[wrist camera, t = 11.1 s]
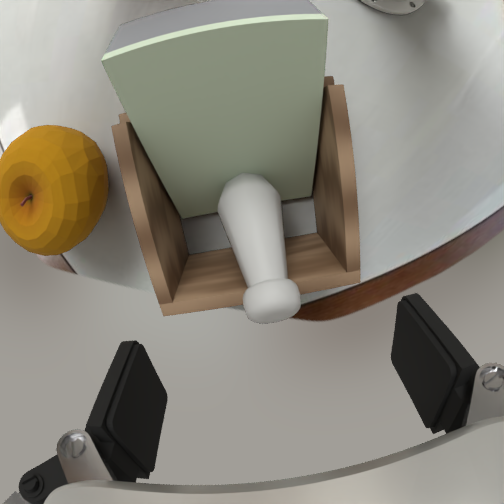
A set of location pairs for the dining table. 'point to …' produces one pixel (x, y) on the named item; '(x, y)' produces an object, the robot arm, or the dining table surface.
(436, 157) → the dining table surface
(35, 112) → the dining table surface
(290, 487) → the robot arm
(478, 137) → the dining table surface
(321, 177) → the box
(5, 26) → the dining table surface
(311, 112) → the trapdoor
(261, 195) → the salt shaker
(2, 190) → the apple
